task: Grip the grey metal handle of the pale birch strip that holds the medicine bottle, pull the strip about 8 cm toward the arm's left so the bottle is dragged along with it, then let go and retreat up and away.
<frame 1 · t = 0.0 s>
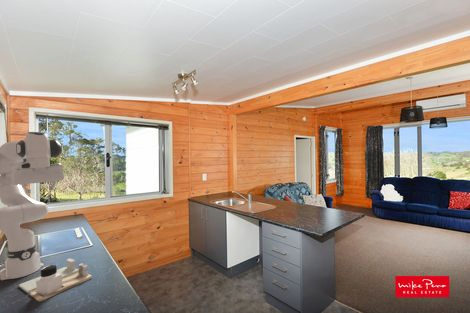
hand: (40, 191, 116), 48 cm above the worktop, fingers open, 8 cm apart
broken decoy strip: (49, 279, 124), on the worktop
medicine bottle: (50, 292, 112), resting on birch strip
birch strip: (62, 279, 117), point 3 cm above the worktop, slide at 0.0 cm
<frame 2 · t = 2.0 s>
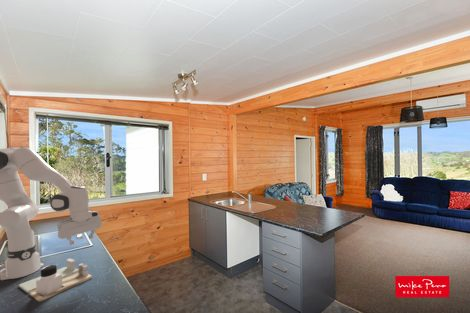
hand: (81, 241, 125), 19 cm above the worktop, fingers open, 8 cm apart
nothing on the worktop moved.
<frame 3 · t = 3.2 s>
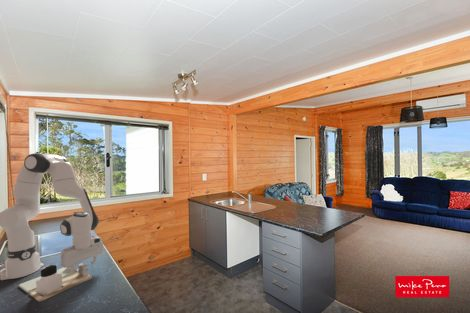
hand: (84, 268, 125), 4 cm above the worktop, fingers open, 8 cm apart
nothing on the worktop moved.
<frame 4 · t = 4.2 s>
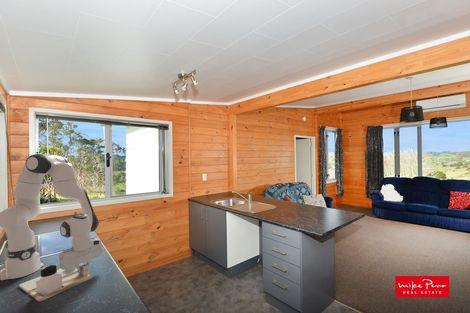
hand: (83, 270, 125), 4 cm above the worktop, fingers closed on birch strip, 2 cm apart
birch strip: (62, 279, 117), point 3 cm above the worktop, slide at 0.0 cm, touching gripper
everything else where it was.
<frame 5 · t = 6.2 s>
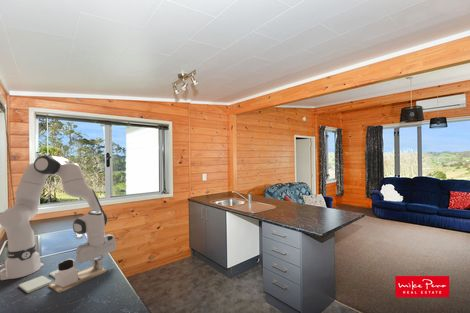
hand: (97, 264, 131), 4 cm above the worktop, fingers closed, pressing on birch strip
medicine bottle: (67, 285, 118), resting on birch strip
birch strip: (78, 272, 123), point 3 cm above the worktop, slide at 7.6 cm, touching gripper, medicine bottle
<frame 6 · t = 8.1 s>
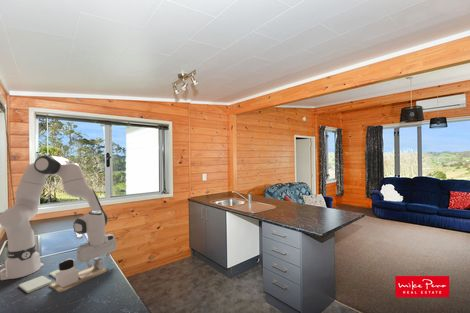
hand: (98, 263, 132), 4 cm above the worktop, fingers open, 8 cm apart
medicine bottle: (67, 284, 118), resting on birch strip
birch strip: (79, 272, 123), point 3 cm above the worktop, slide at 7.9 cm
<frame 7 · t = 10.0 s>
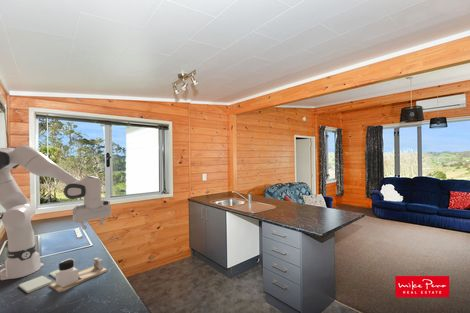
hand: (92, 226, 137), 23 cm above the worktop, fingers open, 8 cm apart
nothing on the worktop moved.
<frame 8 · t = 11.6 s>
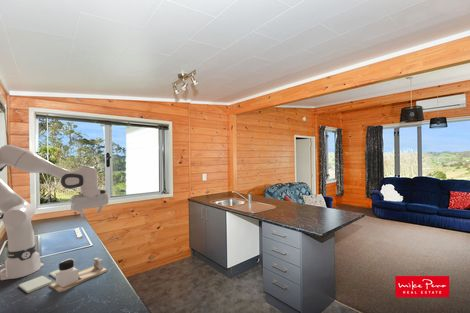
hand: (91, 215, 141), 29 cm above the worktop, fingers open, 8 cm apart
nothing on the worktop moved.
at the end: birch strip slide at 7.9 cm; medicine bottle moved 7.2 cm from its start; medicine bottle tilted 0° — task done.
